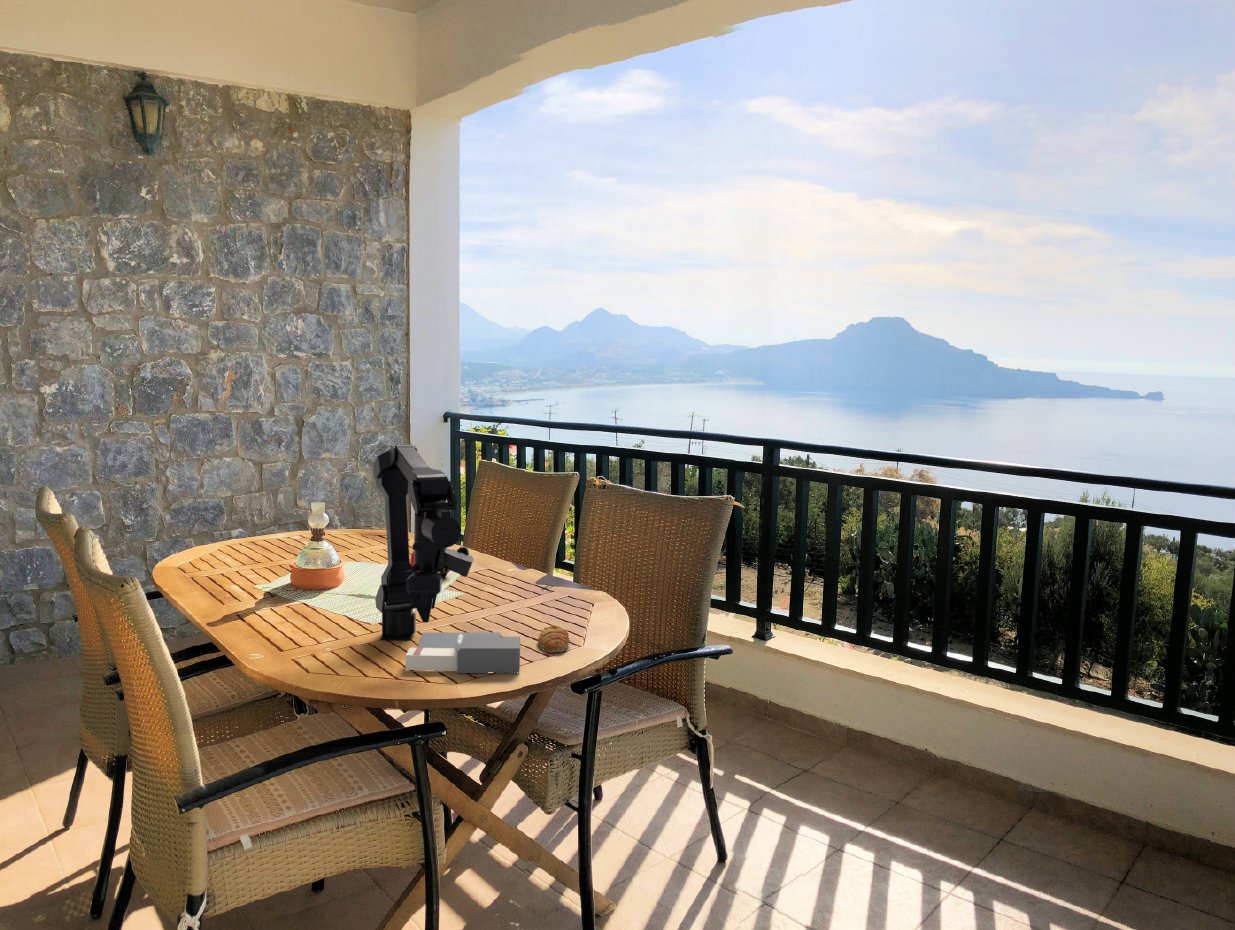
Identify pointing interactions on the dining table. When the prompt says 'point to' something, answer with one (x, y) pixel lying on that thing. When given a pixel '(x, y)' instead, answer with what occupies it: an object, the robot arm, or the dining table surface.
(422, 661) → the white block
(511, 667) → the block
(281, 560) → the dining table surface
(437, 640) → the mat
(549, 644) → the pastry
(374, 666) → the dining table surface
